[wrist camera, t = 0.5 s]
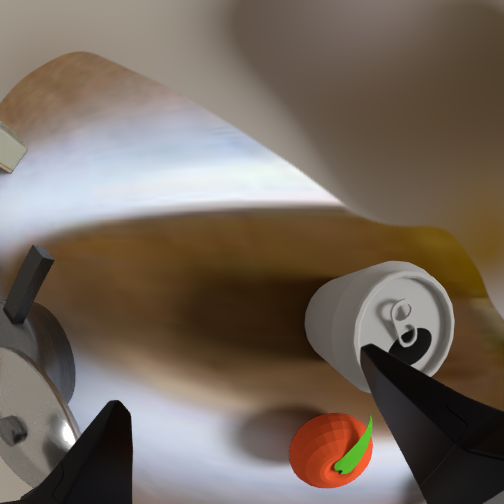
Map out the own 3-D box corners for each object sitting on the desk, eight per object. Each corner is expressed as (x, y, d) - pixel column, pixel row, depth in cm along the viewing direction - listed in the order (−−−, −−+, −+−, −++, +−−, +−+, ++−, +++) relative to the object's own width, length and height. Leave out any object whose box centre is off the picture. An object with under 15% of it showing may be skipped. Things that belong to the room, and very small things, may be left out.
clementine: (325, 379, 23) (347, 406, 16) (379, 412, 22) (412, 441, 15) (270, 443, 22) (272, 485, 15) (326, 472, 21) (342, 513, 14)
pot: (127, 304, 25) (78, 303, 17) (54, 431, 22) (12, 453, 14) (52, 228, 26) (4, 208, 18) (-6, 355, 24) (-48, 360, 16)
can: (321, 375, 23) (366, 430, 11) (289, 298, 24) (315, 294, 13) (393, 338, 23) (476, 356, 12) (365, 263, 25) (438, 233, 13)
